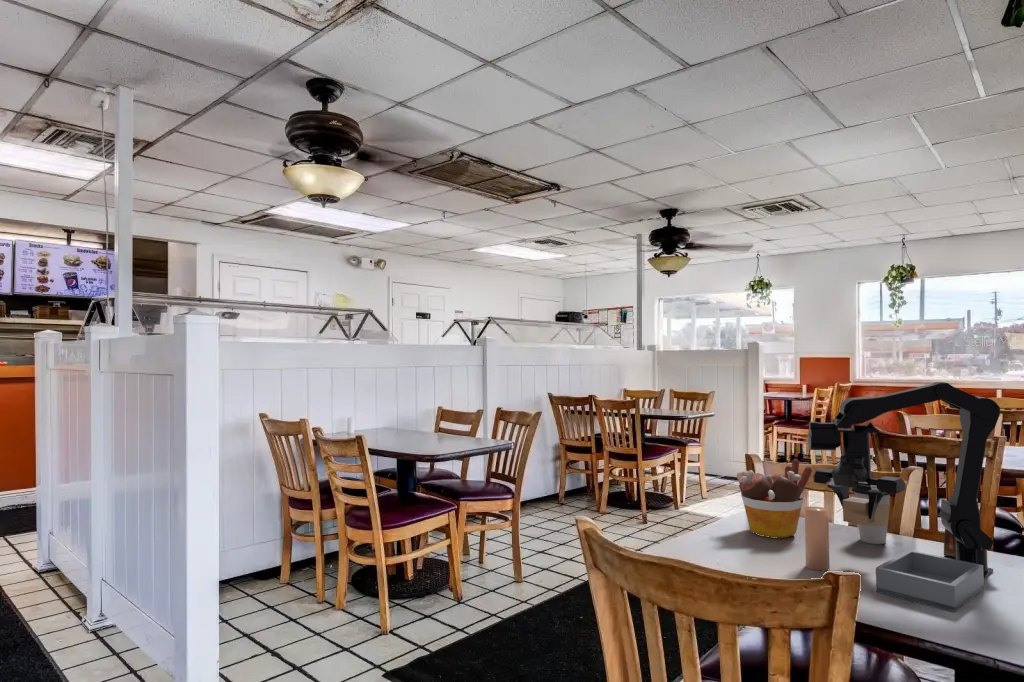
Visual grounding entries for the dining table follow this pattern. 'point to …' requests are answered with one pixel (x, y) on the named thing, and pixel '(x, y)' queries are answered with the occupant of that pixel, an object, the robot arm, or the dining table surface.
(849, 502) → the cube
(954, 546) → the tin
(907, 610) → the dining table surface
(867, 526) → the coffee cup
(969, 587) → the tote
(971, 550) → the robot arm
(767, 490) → the bucket of meat
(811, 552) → the cylinder
